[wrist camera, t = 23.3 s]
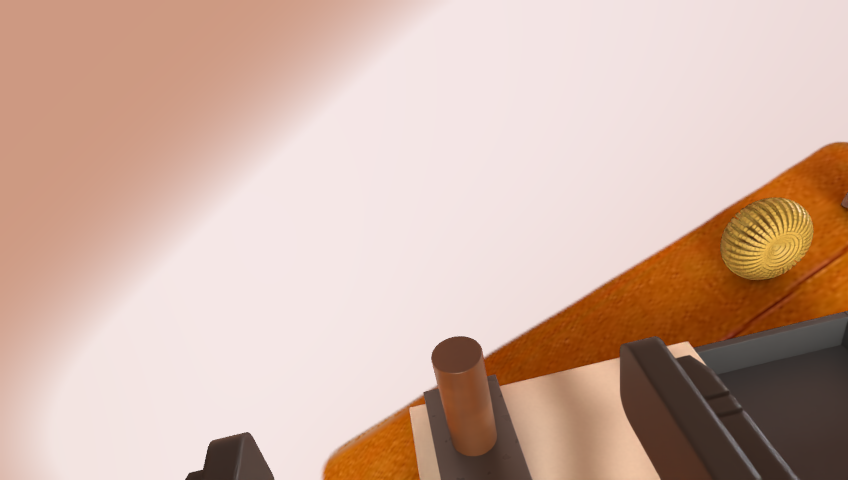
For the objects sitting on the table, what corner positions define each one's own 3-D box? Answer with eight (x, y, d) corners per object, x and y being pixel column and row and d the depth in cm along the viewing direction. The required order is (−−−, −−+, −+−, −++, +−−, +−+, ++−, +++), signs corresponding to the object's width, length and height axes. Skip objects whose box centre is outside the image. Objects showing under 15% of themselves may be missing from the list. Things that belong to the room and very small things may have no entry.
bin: (740, 571, 34) (747, 539, 32) (633, 391, 46) (634, 361, 44) (1020, 501, 34) (1043, 466, 32) (841, 341, 46) (850, 309, 44)
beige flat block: (449, 612, 35) (432, 560, 32) (424, 459, 44) (409, 407, 41) (775, 532, 35) (790, 472, 32) (682, 397, 45) (687, 340, 41)
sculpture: (784, 252, 56) (797, 180, 52) (815, 275, 53) (832, 200, 49) (707, 273, 56) (714, 202, 52) (734, 298, 52) (744, 224, 48)
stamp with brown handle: (454, 539, 33) (424, 431, 28) (429, 415, 40) (402, 313, 35) (540, 517, 33) (525, 405, 28) (499, 398, 40) (481, 293, 35)
